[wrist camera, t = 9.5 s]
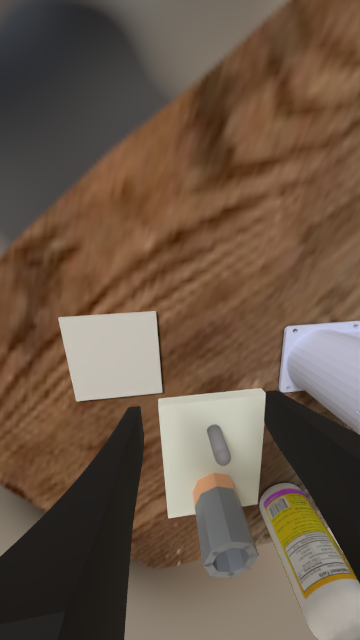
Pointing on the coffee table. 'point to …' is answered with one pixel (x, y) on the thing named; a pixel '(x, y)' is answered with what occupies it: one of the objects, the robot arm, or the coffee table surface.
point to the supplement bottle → (312, 564)
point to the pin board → (198, 447)
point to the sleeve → (222, 527)
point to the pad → (112, 354)
